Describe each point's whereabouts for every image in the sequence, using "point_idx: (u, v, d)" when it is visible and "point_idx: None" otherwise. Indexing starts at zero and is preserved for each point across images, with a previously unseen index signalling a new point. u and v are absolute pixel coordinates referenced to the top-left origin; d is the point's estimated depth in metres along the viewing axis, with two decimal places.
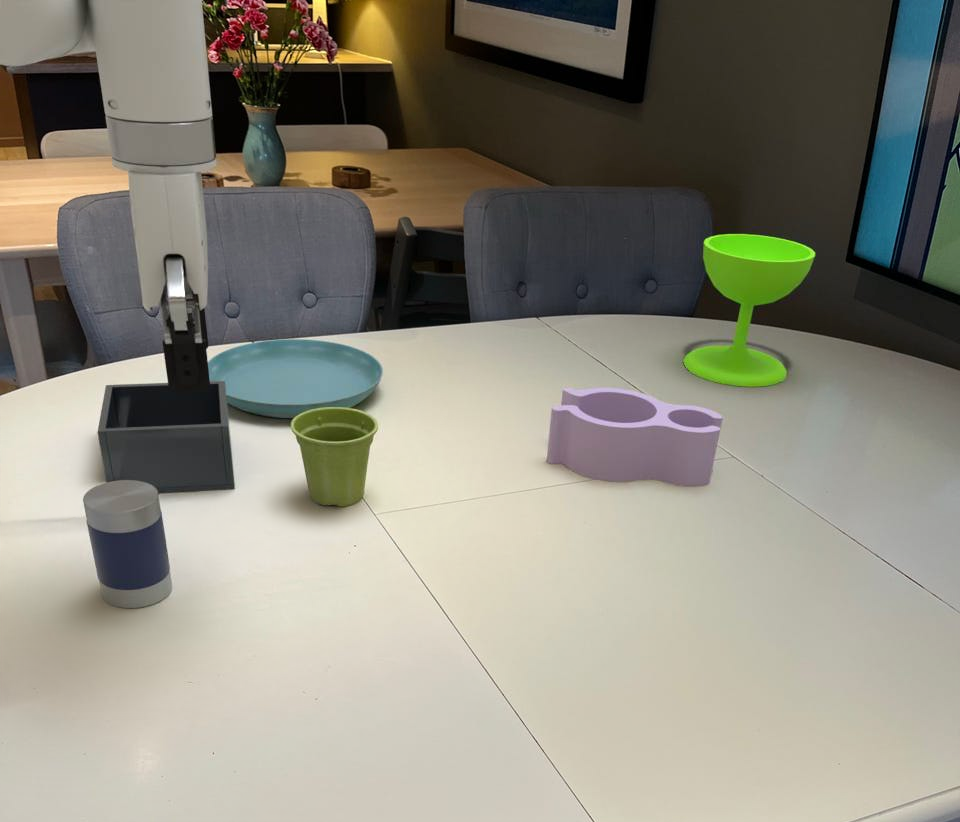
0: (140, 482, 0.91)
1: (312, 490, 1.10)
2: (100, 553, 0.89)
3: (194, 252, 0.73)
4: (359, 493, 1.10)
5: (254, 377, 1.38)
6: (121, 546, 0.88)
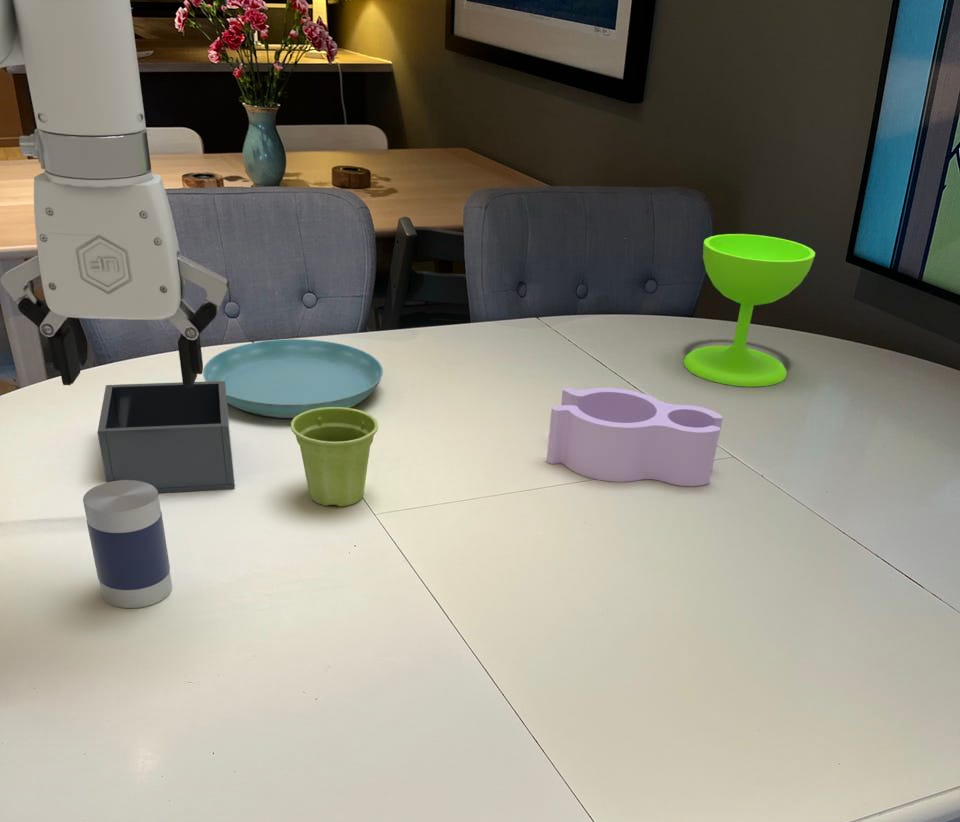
0: (140, 482, 0.91)
1: (312, 490, 1.10)
2: (100, 553, 0.89)
3: (178, 245, 0.78)
4: (359, 493, 1.10)
5: (254, 377, 1.38)
6: (121, 546, 0.88)
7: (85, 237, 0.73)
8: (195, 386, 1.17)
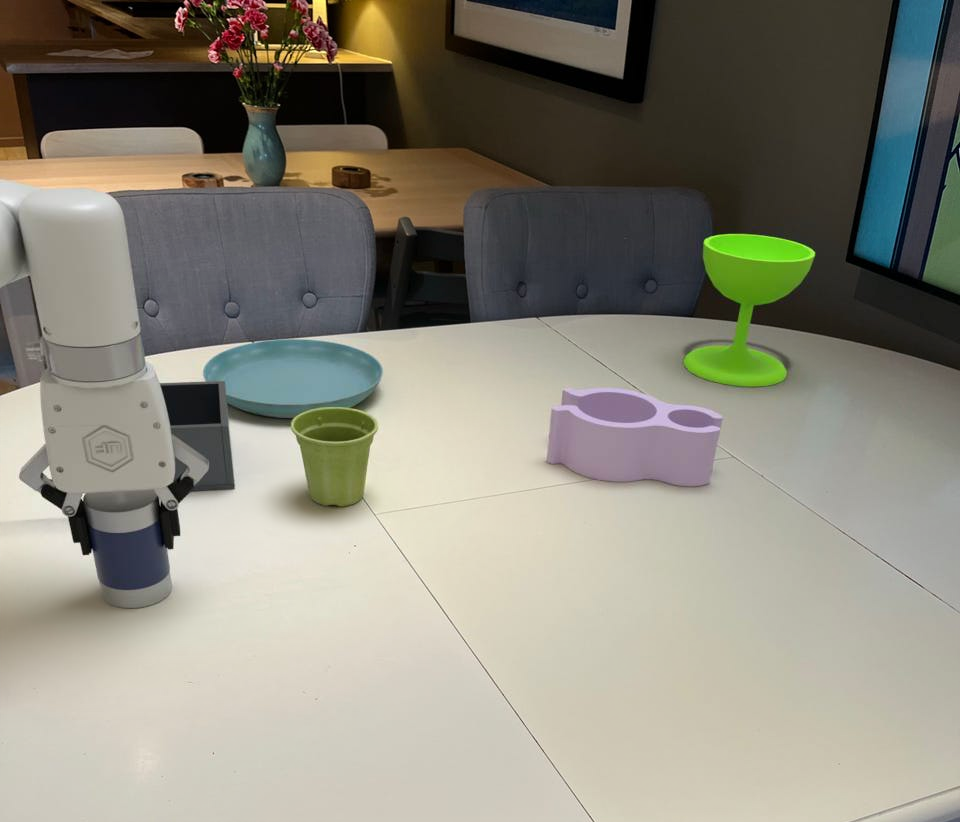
0: None
1: (312, 490, 1.10)
2: (100, 553, 0.89)
3: None
4: (359, 493, 1.10)
5: (254, 377, 1.38)
6: (121, 546, 0.88)
7: (91, 427, 0.81)
8: (195, 386, 1.17)
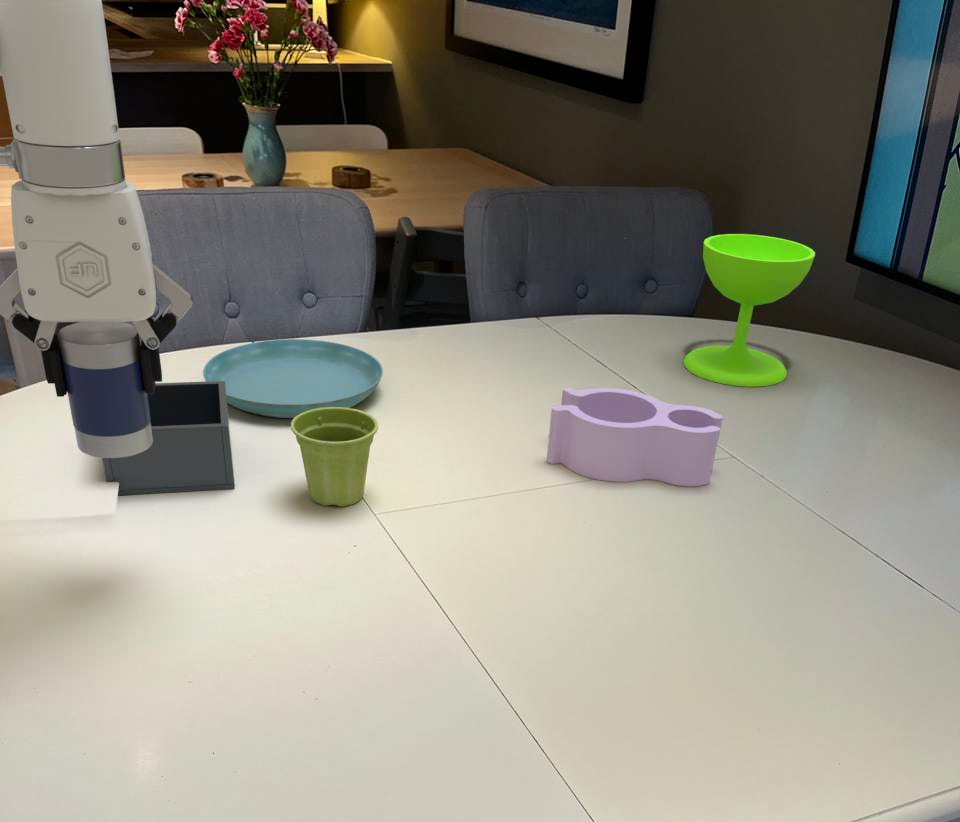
0: (120, 322, 0.85)
1: (312, 490, 1.10)
2: (75, 393, 0.83)
3: None
4: (359, 493, 1.10)
5: (254, 377, 1.38)
6: (97, 385, 0.82)
7: (65, 244, 0.76)
8: (195, 386, 1.17)
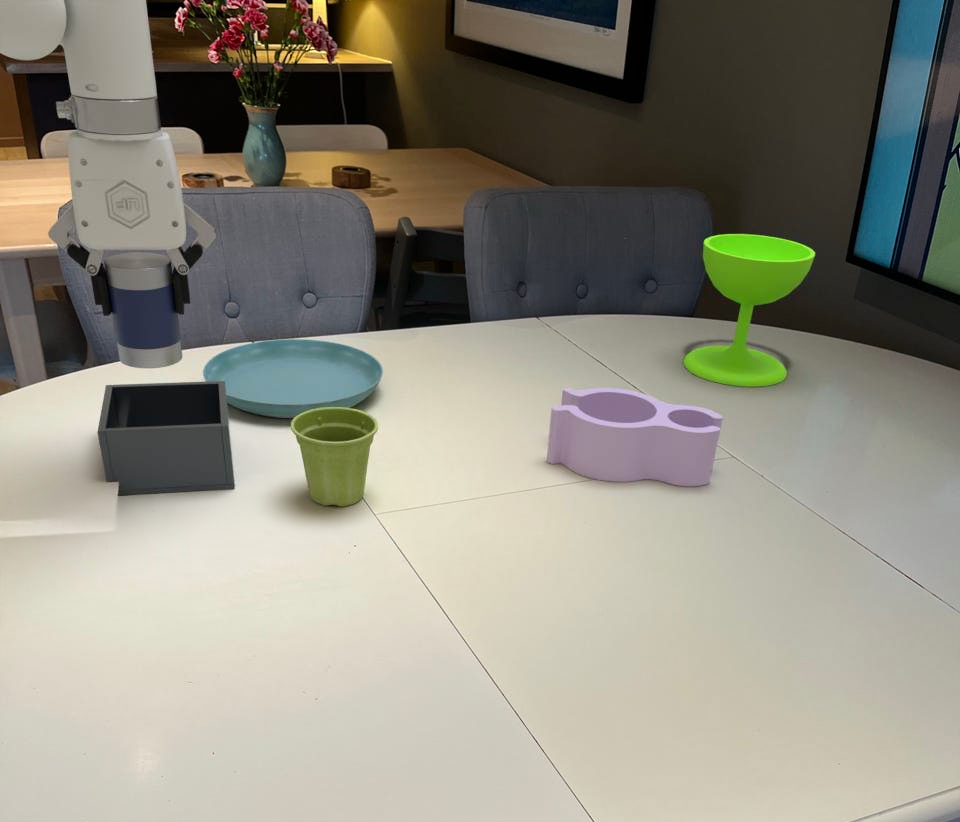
0: (155, 254, 1.01)
1: (312, 490, 1.10)
2: (119, 312, 0.99)
3: None
4: (359, 493, 1.10)
5: (254, 377, 1.38)
6: (137, 304, 0.99)
7: (112, 182, 0.92)
8: (195, 386, 1.17)
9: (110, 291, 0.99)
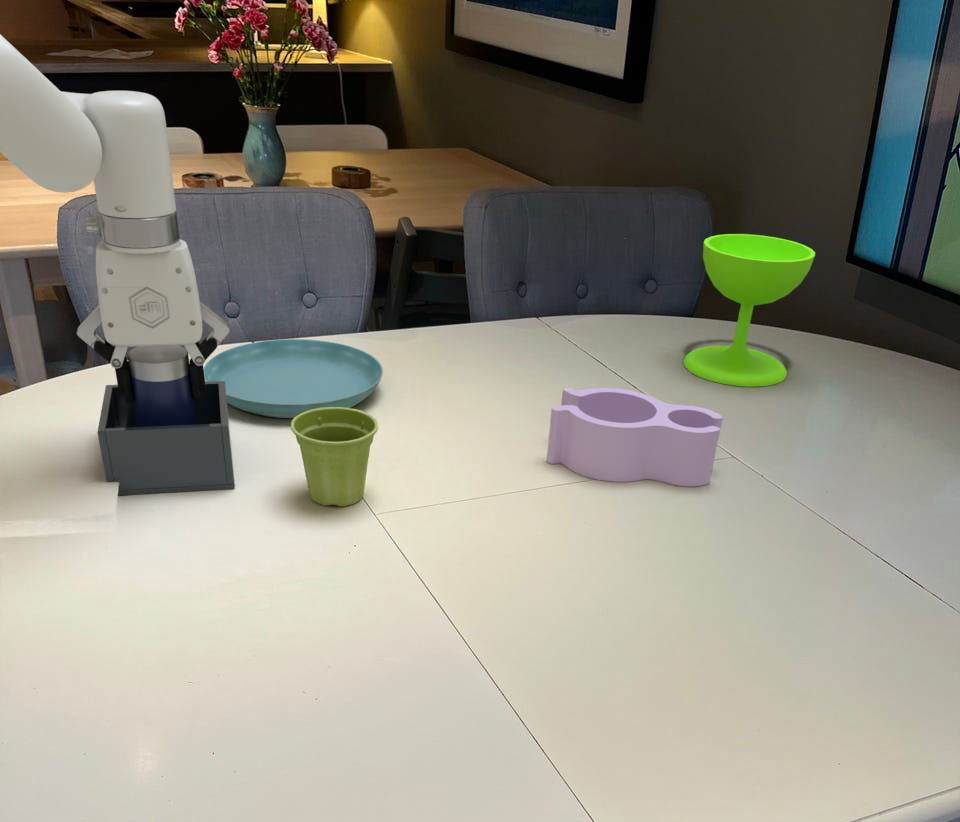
0: None
1: (312, 490, 1.10)
2: (141, 400, 1.08)
3: None
4: (359, 493, 1.10)
5: (254, 377, 1.38)
6: (158, 394, 1.08)
7: (136, 288, 1.01)
8: None
9: (133, 382, 1.08)
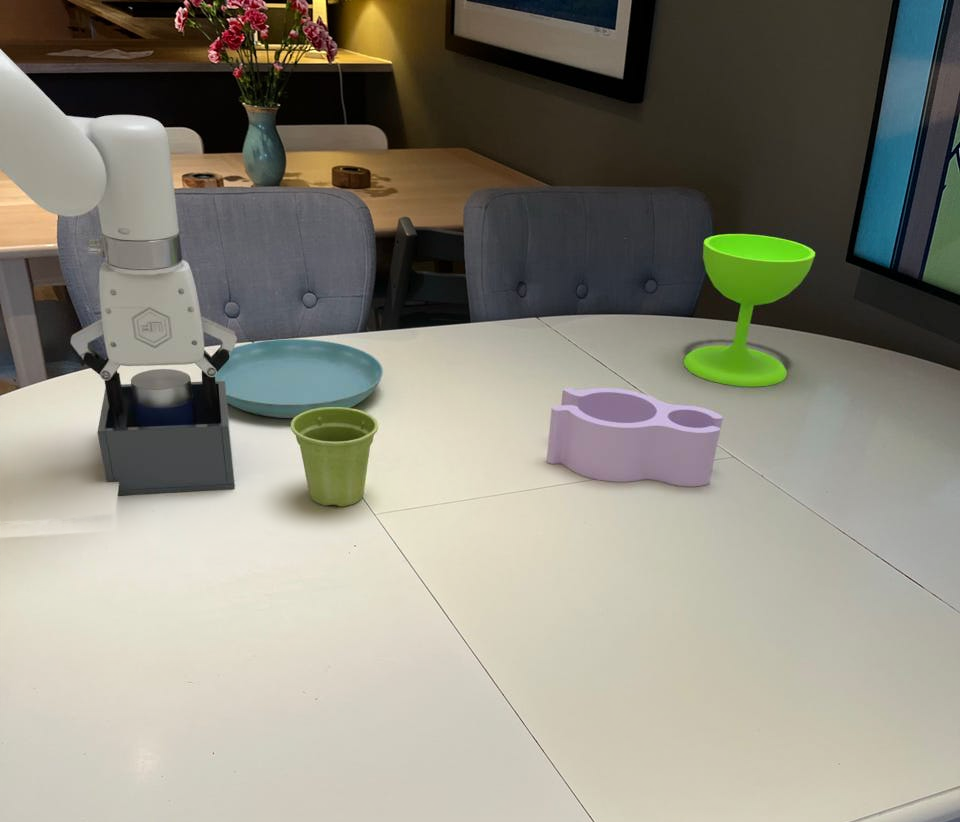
0: (175, 370, 1.12)
1: (312, 490, 1.10)
2: (144, 425, 1.10)
3: None
4: (359, 493, 1.10)
5: (254, 377, 1.38)
6: (161, 419, 1.09)
7: (139, 309, 1.03)
8: (195, 386, 1.17)
9: (136, 407, 1.10)
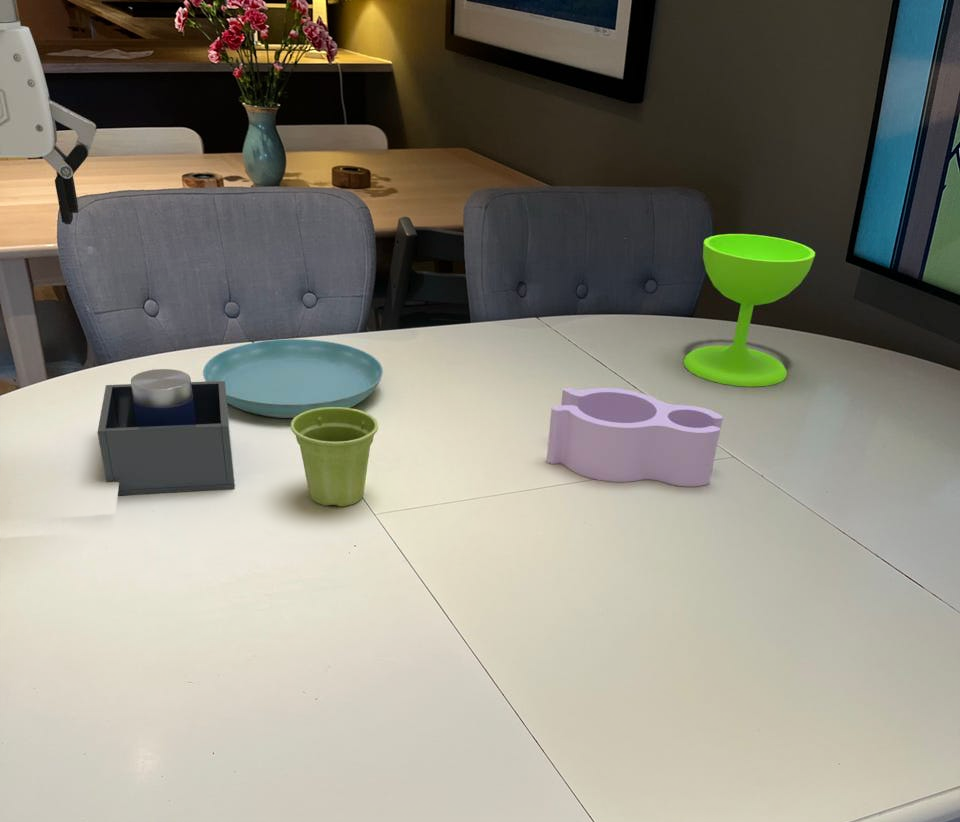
0: (175, 370, 1.12)
1: (312, 490, 1.10)
2: (144, 425, 1.10)
3: None
4: (359, 493, 1.10)
5: (254, 377, 1.38)
6: (161, 419, 1.09)
7: None
8: (195, 386, 1.17)
9: (136, 407, 1.10)
